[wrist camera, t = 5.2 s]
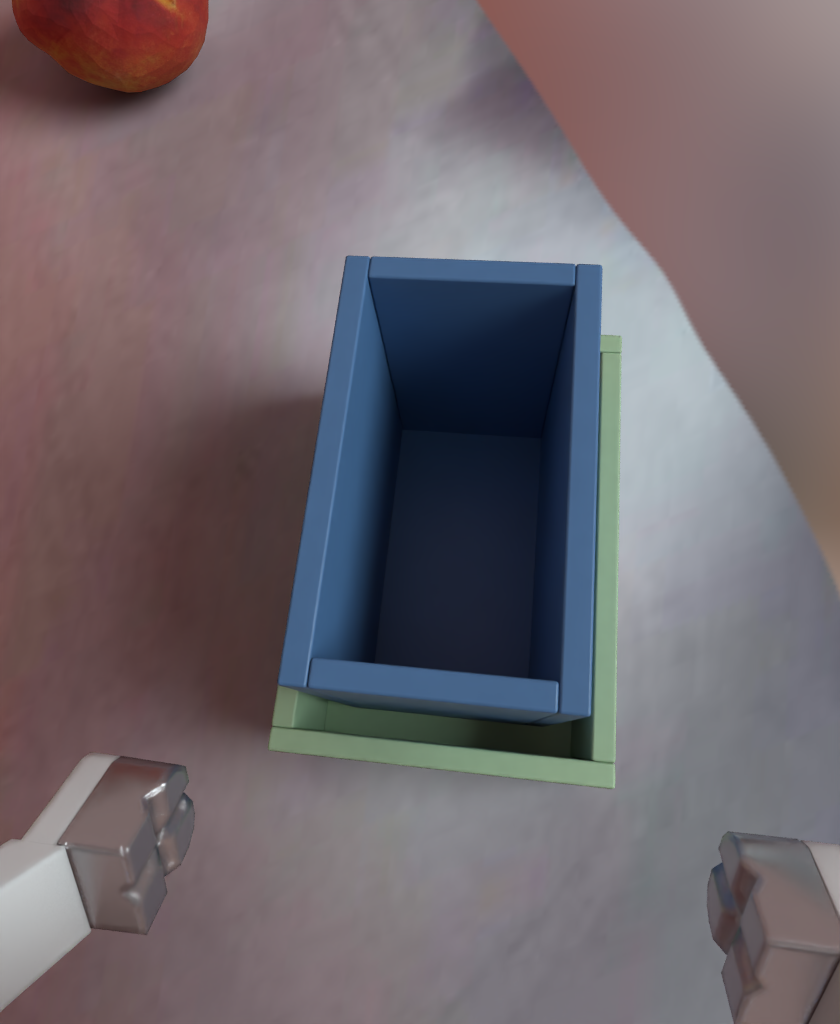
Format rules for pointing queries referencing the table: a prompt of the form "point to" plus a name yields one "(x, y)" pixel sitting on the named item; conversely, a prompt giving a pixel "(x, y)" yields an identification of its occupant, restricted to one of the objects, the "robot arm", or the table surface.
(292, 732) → the lower bin
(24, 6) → the fruit
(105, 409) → the table surface
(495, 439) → the upper bin
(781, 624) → the table surface
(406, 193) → the table surface
